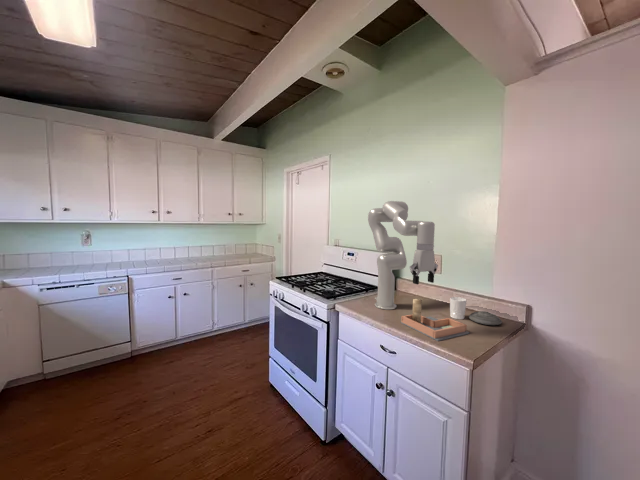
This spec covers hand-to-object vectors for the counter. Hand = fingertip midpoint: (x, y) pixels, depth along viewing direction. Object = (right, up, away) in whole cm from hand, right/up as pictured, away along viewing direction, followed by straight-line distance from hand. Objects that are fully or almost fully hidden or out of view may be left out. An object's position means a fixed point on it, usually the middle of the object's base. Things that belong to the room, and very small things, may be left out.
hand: (423, 282), depth 134 cm
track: (+5, -22, 0) cm, 22 cm away
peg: (-2, -21, +3) cm, 21 cm away
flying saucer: (+36, -22, +10) cm, 43 cm away
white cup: (+24, -21, +16) cm, 36 cm away
